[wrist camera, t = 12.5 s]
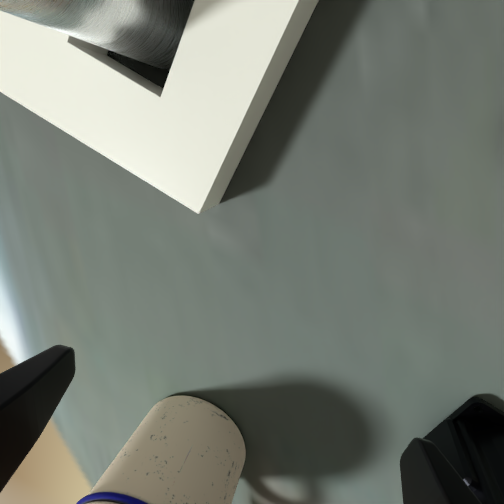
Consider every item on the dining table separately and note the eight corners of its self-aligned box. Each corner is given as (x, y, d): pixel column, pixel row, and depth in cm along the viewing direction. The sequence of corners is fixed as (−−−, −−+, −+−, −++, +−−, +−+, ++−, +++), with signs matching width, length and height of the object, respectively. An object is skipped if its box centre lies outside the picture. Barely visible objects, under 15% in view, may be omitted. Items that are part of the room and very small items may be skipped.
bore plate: (350, -66, 15) (350, -111, 12) (219, 203, 21) (198, 213, 18) (93, -201, 16) (39, -272, 13) (34, 91, 22) (-11, 84, 19)
